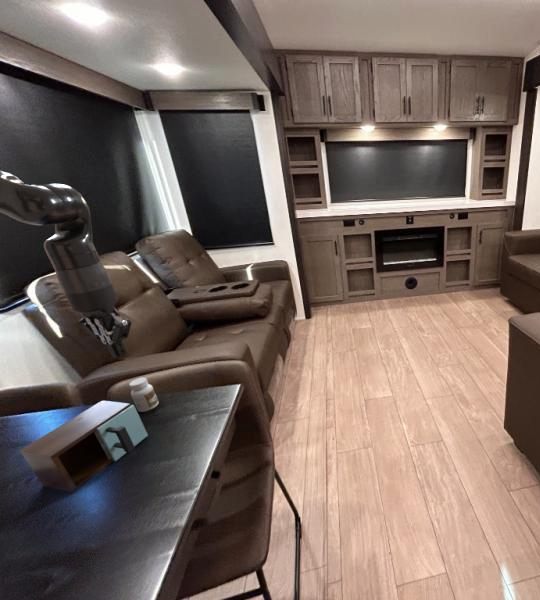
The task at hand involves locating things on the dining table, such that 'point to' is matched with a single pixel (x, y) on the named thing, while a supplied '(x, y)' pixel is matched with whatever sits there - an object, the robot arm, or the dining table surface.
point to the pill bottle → (143, 395)
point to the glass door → (122, 432)
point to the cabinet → (73, 449)
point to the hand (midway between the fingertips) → (120, 355)
